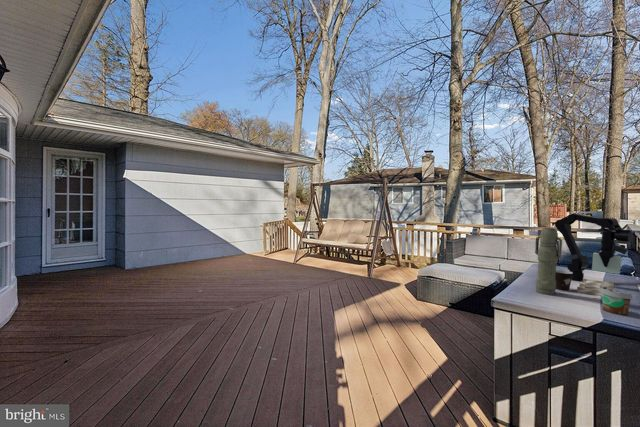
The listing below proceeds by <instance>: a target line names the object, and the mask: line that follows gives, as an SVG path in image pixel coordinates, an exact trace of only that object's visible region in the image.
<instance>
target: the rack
mask: <svg viewBox="0 0 640 427" xmlns="http://www.w3.org/2000/svg"><path fill="white" fill-rule="evenodd" d="M586 281H593V282H598V283H603V284H602V287H607V289H610V290H614V289H613V288H615V283H614V282H610V281H609V282H608V281H602V280H596V279H595V280H594V279H590V278H583V280H582V283H579V286H577V287H576V292H578V293H583V294H590V295H594V296H601V297H602V293H601V292H600V290H594V289H588V288H584V287H585V282H586Z"/></svg>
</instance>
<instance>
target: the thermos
mask: <svg viewBox="0 0 640 427" xmlns="http://www.w3.org/2000/svg"><path fill="white" fill-rule="evenodd" d="M539 242H540V243H539ZM558 243H559V244H558ZM534 248H535V252H534V253H535V254H536V256H537V262H538V264H537V265H538V266H537V278H536V280H535V292H536V293H539V294H541V295H546V296H553V295H556V290H557V289H556V280H555V275H556V270H557V262H558V260H559V259H560V258H561V257H562V248H563V240H562V238H561V237H559V234H558V230H557V228H553V227H544V228H542V229H541V232H540V234H539V235H537V236H536V238H535V247H534Z"/></svg>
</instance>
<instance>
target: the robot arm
mask: <svg viewBox="0 0 640 427" xmlns="http://www.w3.org/2000/svg"><path fill="white" fill-rule="evenodd" d="M577 221H578V222H583V223H589V224H594V225H596V226H598V227H600V228H599V229H597V231H598V232H602V233H601V241H600V250H599V251H598V253H599V255H600V257H601V260H602V262H603V264H604V267H607V266H608V263H609V260H610V258H612V257H614V255H615V254H616V252H618V253H620V254H622V255H626V253H627V251H628V250H629V249H628V248H627V247H626V244H621V245H619V244H616V241H618V242H624V243H625V242H626V243H632V242H633V241H634V238H635V235H634V233H633V230H632V229H623V228H622V226H621V224H619V221H618V219H616V218H615V217H597V216H591V215H590V216H589V215H586V214H585V215H584V214H579V213H570V214H569V215H567V216H564V217H563V218H561V219H557V220H556V221H555V222H554V226H555V229H556V230H557V232H559V233H561V235H562V238H563V240H564V242H565V244H566V246H567V249H568V251H569V253H570V255H571V256H570V262H571V263H570V264H569V265H566V268H567V271H570V272H573V275H572V279H571V281H576V282H583V278H584V276H585V273H584V271H585V270H586V268H588V267H589V264H590V261H589V260H588V257H587V255H586V254H585V255H583V254H582V253H581V250H580V249H579V246H578V245H577V242H576V240H575V238H574V235H573V234H572V224H574V223H575V222H577ZM584 279H585V278H584Z"/></svg>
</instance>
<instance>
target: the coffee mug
mask: <svg viewBox="0 0 640 427" xmlns="http://www.w3.org/2000/svg"><path fill="white" fill-rule="evenodd" d="M572 275H573V272H570V270H563V269H556V275H555V280H556V290H558V291H562V292H569V291H570V287H571V283H572V280H571V279H572Z"/></svg>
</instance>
